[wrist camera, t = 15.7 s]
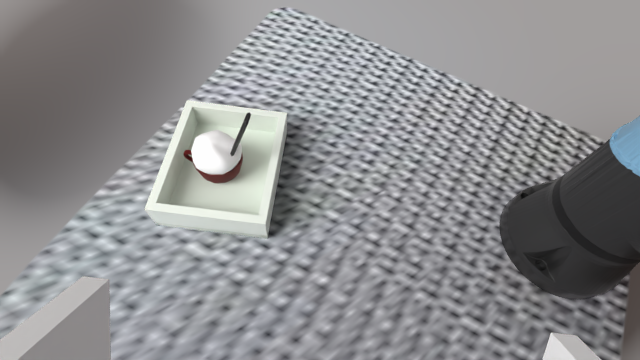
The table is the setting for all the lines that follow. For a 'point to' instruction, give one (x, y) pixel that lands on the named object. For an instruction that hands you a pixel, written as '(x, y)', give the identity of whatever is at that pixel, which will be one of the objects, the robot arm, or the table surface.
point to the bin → (221, 198)
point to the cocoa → (218, 154)
